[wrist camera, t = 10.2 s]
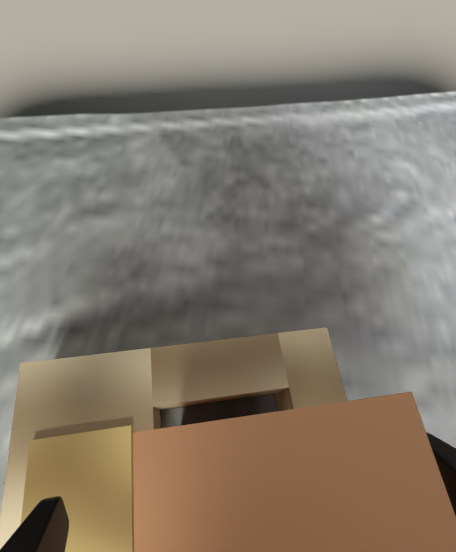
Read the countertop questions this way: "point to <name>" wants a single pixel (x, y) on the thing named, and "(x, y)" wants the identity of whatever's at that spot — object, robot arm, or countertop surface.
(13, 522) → the socket plate
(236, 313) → the countertop surface
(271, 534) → the plug
